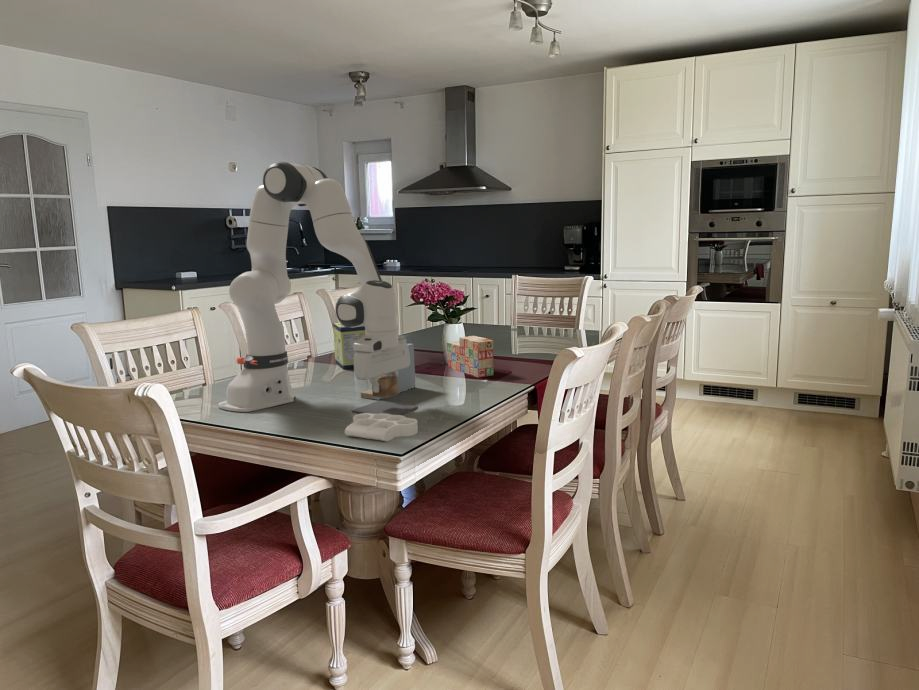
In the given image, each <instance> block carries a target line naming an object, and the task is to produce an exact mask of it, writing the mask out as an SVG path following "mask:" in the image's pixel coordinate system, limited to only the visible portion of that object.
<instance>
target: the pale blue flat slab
mask: <svg viewBox="0 0 919 690" xmlns="http://www.w3.org/2000/svg"><path fill="white" fill-rule="evenodd" d="M407 345H408V349H409V355H410V365H409V367H407V368H404V369H401V370H398V377H397V381H398V394H400V392H401V393H404V392H406V391H409V390H411V388H412V389H415V388H416V367H415V363H416V362H415V346H414V345H415V344H414V343H407ZM385 375H388V376H391V374H390V373H388V374H385ZM414 387H415V388H414ZM408 389H409V390H408ZM403 391H404V392H403ZM360 398H362V399H363V398H364V399H369V400H374V399H375V401H379V400H380V399H381V400H383V399H384V398H382V397H375V396H373V392H372V388H370V389H367V390H365V391H361V392H360ZM381 400H380V401H381Z"/></svg>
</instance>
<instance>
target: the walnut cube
mask: <svg viewBox="0 0 919 690" xmlns="http://www.w3.org/2000/svg"><path fill="white" fill-rule="evenodd" d="M378 377H379V380H377V381H378V384H379V385H381V389H382V391H381V392H378V393H376V392H374V391H373V386H372V385H371V389H372V392H373V396H375V397H382V398H383V399H388V398H391V397H393V396H397V395H399V393H398V381H397V376H388V375H381V376H378Z"/></svg>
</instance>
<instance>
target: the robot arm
mask: <svg viewBox="0 0 919 690" xmlns="http://www.w3.org/2000/svg"><path fill="white" fill-rule="evenodd" d="M251 202H252V203H251V207H250V211H249V216H248V217H249V219H248V227H247V228H248V229H247V234H246V235H247V236H246V249H247V251H248V253H249V257H250V262H251V271H245V272H242V273H241V274H239V275H238V276H236V277H235V278H233V280H232V281H231V283H230V285H229V288H228V289H229V290H228V292H229V297H230V299H231V301H232V303H233V304H234V305H235V306H237V309H238V312H239V313H240V317H241V320H242V322H243V323H242V324H243V326H244V331H245V341H246V353H247V354H246V355H245V358H244V357H240V356H238V357H236V359H235V362H236V364H237V365H243V368H242V369H241V371H240V372H239V373H238V374H236V376H235V377H234V378H233V379H232V380H231V381H230V382H229V384H227V387H226V395H225V399H226V400H224V401H221V402H218V408H219V409H222V410H225V411H229V412H237V413H238V412H239V413H240V412H241V413H242V412H243V413H246V412H247V413H248V412H255V411H258V410H263V409H267V408H271V407H275V406H279V405H285V404H290V403H293V402H294V401H295V399H294V398H295V393H294V391H293V389H292V388H293V387H292V384H291V380H290V375H289V370H288V363H289V356H288V352H287V350H286V341H285V339H286V338H285V327H284V325H283V323H282V322H281V320H280V318H279V316H278V313H277V310H276V305H277V304H279V303H282V302H283V300H285V299H286V298H287V297H288V296H289V294H290V293H291V289H292V283H291V280H290V278H289V276H288V268H287V255H286V254H287V252H286V251H287V240H288V233H289V225H290V224H289V223H290V222H289V221H290V215H291V211H292V209H293V208H294V207H295V206H298V207H305V206H307V209H308V210H309V213H310V217H311V219H312V220H311V221H312V223H313V224H312V225H313V229H314V233H315V236H316V238H317V240H318V242H319V243H320V245H321V246H322V247H324V249H327V250H329V251H330V252H333V253H336V254H337V255H340V256H342V257H344V258H346V259H347V260H348V261H349V262H350V263H352V266H353V267H354V269H355V271H356V274H357V277H358V279H359V282H360V285H361V287H359V288H358V289H356V290H354V291H351V292H348V293H345V294H343V295H341V296H340V297H339V298H337V301H336V303H335V308H334V309H335V310H334V311H335V316H336V318H337V320H338V323H339V322H340V323H341V324H342V325H343V326H345V327H350V328H354V327H360V326H365V334H366V335H363V336H362V337H361V338H360V339H359V340H358V341H356V342H355V343H354V344H353V349H354V351H357V352H356V353H355V355H354V368H353V371H354V377H355V379H357V380H359V381H368V380H369V382H370V383H371V387H372V386H373V391H374V392H376V393H378V392H381V391H382V389H381V385H379V384H378V381H377V380H379V377H378V376H381V375H385V374H388V373H390V374H391V376H397V377H398V370H401V369H404V368H407V367H409V365H410V355H409V349H408V345H407V344H408V343H407V338H405V337H404V336H403V335H399V331H398V330H399V328H398V325H397V315H398V314H397V313H398V310H397V298H396V293H395V289H394V287H393V284H392V283H390V282H387V281H383V280H382V277H381V274H380V272H379V269H378V267H377V264H376V261H375V259H374V256H373V253H372V250H371V249H370V246H369V244H368V242H367V241H366V239H365V238H364V237H363V236H362V234H361V232H360V231H359V229H358V227H357V225H356V223H355V220H354V216H353V213H352V210H351V206H350V204H349V201H348V197H347V195H346V193H345V191H344V188H343V187H342V185H341V183H340V182H339V181H338V180H337V179H336V180H335V179H332V178H328V176H327V175H326V173H324V172H323V171H322V170H321V169H319V168H316V167H315V166H314V167H313V166H309V165H306V164H303V163H290V162H286V161H280V162H275V163H272V164H270V165H269V166H268V167H267V168H266V169H265V171H264V173H263V176H262V184H261V185H258V187H257V188H256V190H255V192H254V195H253V199H252V201H251Z"/></svg>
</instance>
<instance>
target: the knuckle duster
mask: <svg viewBox="0 0 919 690" xmlns="http://www.w3.org/2000/svg"><path fill="white" fill-rule="evenodd" d="M418 433H419V431H418V419H416V418H410V417H406V416H405V415H403V414H402V415H391V414H384V413H381V414H370V413H362V414H358V413H356V414H355V415H354V416H353V417H352V423H350V424H349V425H347V426H346V427H345V429H344V434H345V436H348V437H356V438H360V439H367V440H375V441H380V442H381V441H382V442H390V441H391V440H393V439H395V438H398V437H411V436H414V435H416V434H418ZM394 437H395V438H394Z"/></svg>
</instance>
